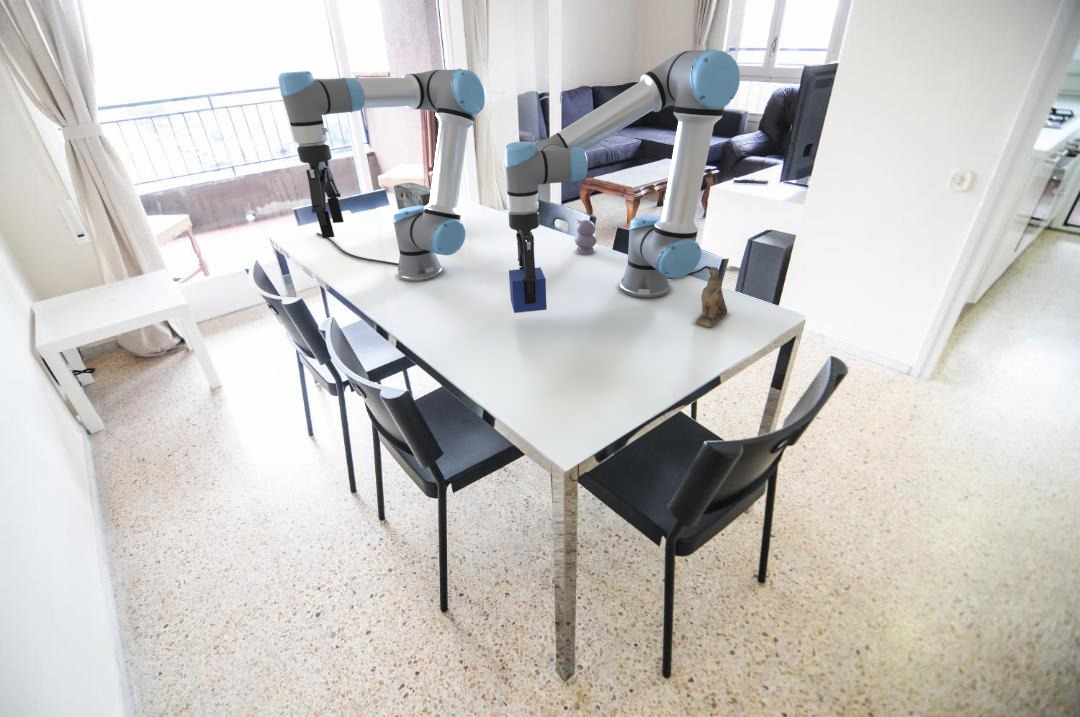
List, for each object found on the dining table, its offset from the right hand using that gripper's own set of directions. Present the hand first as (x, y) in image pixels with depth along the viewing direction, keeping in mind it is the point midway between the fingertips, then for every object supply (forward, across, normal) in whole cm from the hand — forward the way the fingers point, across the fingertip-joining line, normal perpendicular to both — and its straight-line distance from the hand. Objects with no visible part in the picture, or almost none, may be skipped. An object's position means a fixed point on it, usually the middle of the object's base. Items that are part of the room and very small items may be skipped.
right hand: (527, 296), depth 133 cm
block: (+3, 0, 0) cm, 3 cm away
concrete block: (+10, +94, +33) cm, 100 cm away
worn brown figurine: (+10, -6, -51) cm, 52 cm away
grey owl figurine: (+10, +56, -30) cm, 64 cm away
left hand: (-17, +17, +49) cm, 55 cm away
